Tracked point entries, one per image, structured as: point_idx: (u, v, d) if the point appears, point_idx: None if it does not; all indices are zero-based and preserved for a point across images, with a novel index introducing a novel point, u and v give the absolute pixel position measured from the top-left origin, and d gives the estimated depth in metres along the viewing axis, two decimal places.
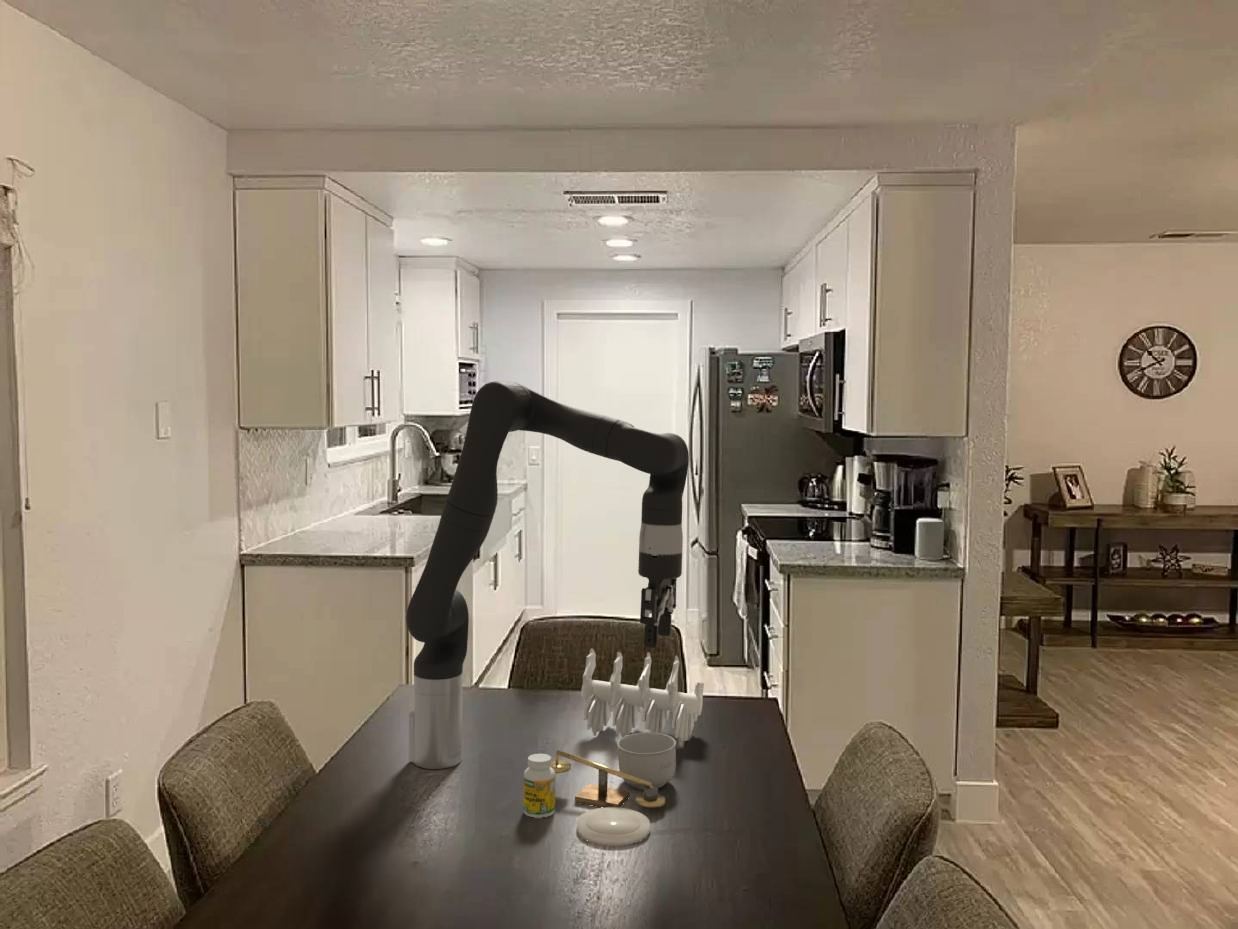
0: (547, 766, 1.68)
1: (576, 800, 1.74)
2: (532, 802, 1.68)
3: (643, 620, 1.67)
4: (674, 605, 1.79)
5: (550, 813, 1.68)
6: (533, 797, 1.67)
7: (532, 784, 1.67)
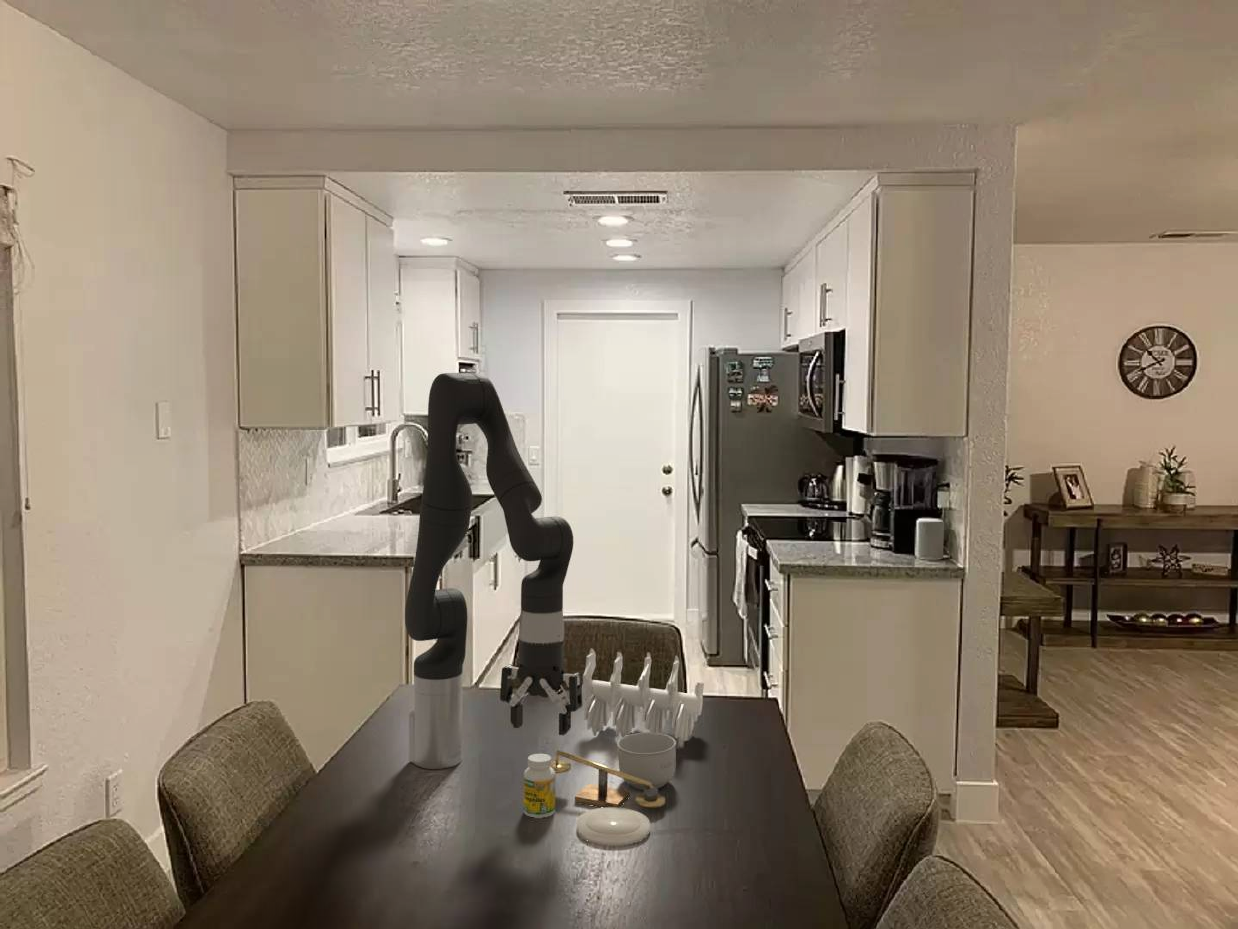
0: (547, 766, 1.68)
1: (576, 800, 1.74)
2: (532, 802, 1.68)
3: (577, 707, 1.65)
4: None
5: (550, 813, 1.68)
6: (533, 797, 1.67)
7: (532, 784, 1.67)
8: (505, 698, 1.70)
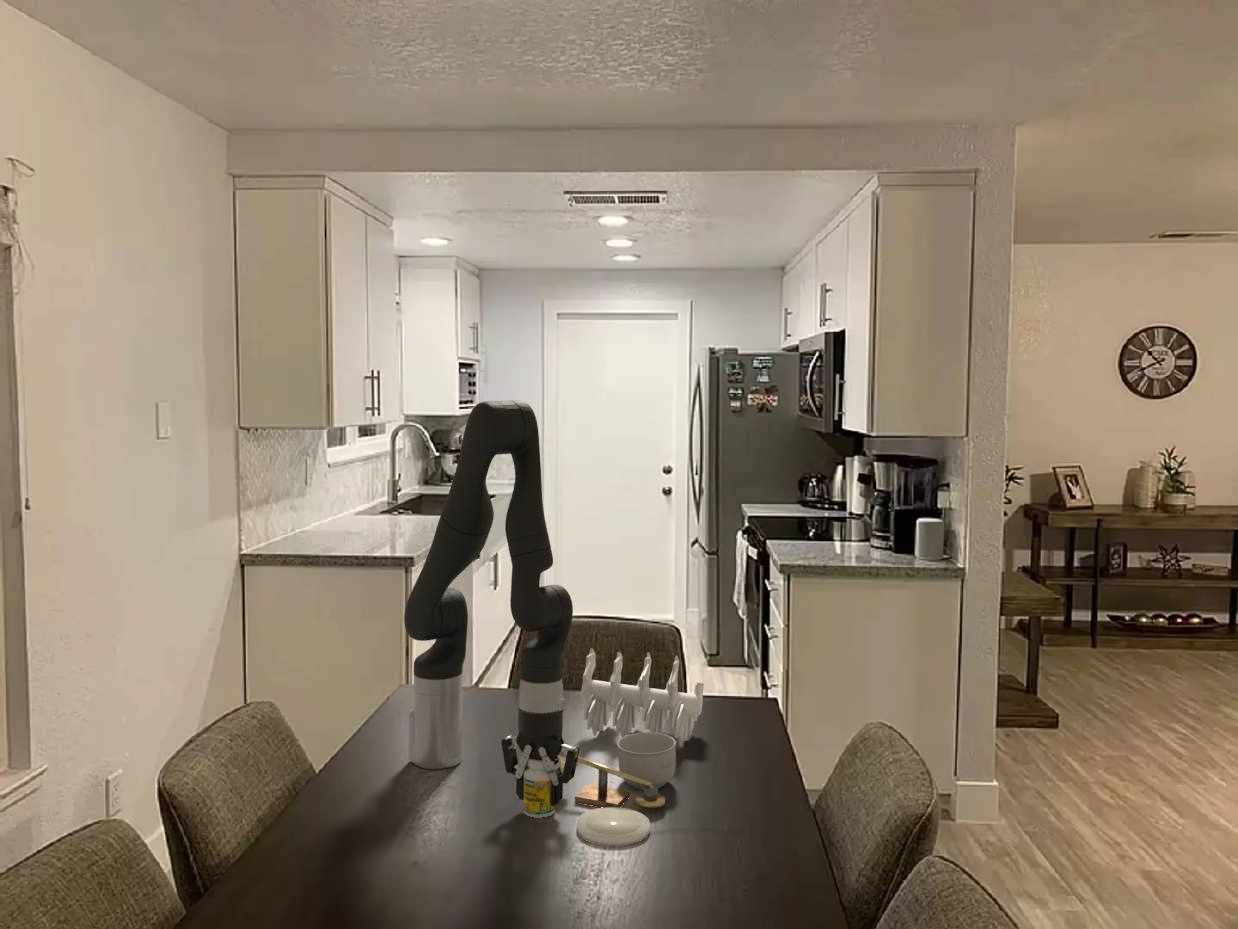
0: None
1: (576, 800, 1.74)
2: (532, 802, 1.68)
3: (569, 778, 1.67)
4: None
5: (550, 813, 1.68)
6: (533, 797, 1.67)
7: (532, 784, 1.67)
8: (511, 769, 1.70)
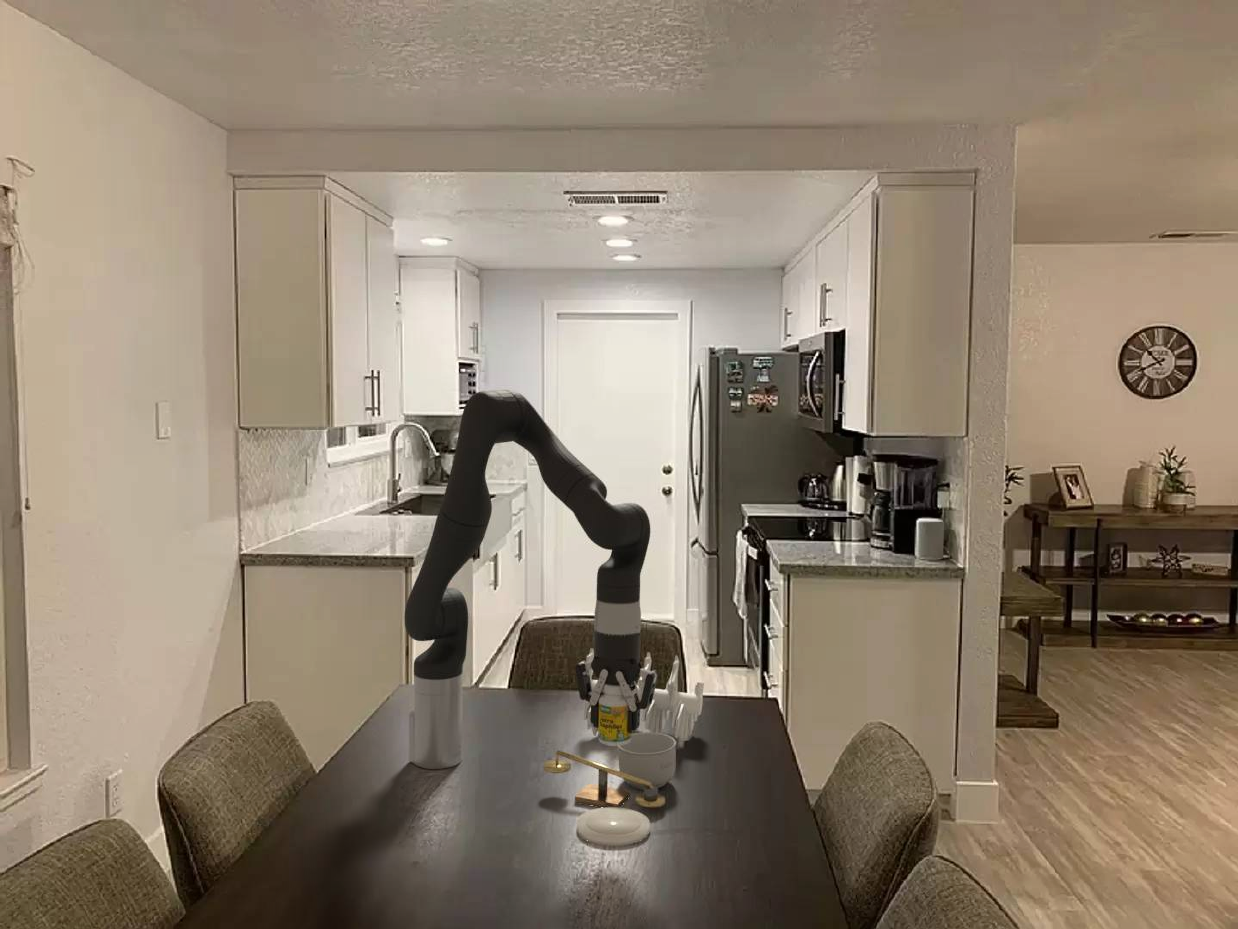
0: None
1: (576, 800, 1.74)
2: (608, 728, 1.60)
3: (647, 704, 1.60)
4: None
5: (627, 741, 1.61)
6: (610, 723, 1.60)
7: (609, 710, 1.60)
8: (585, 696, 1.63)
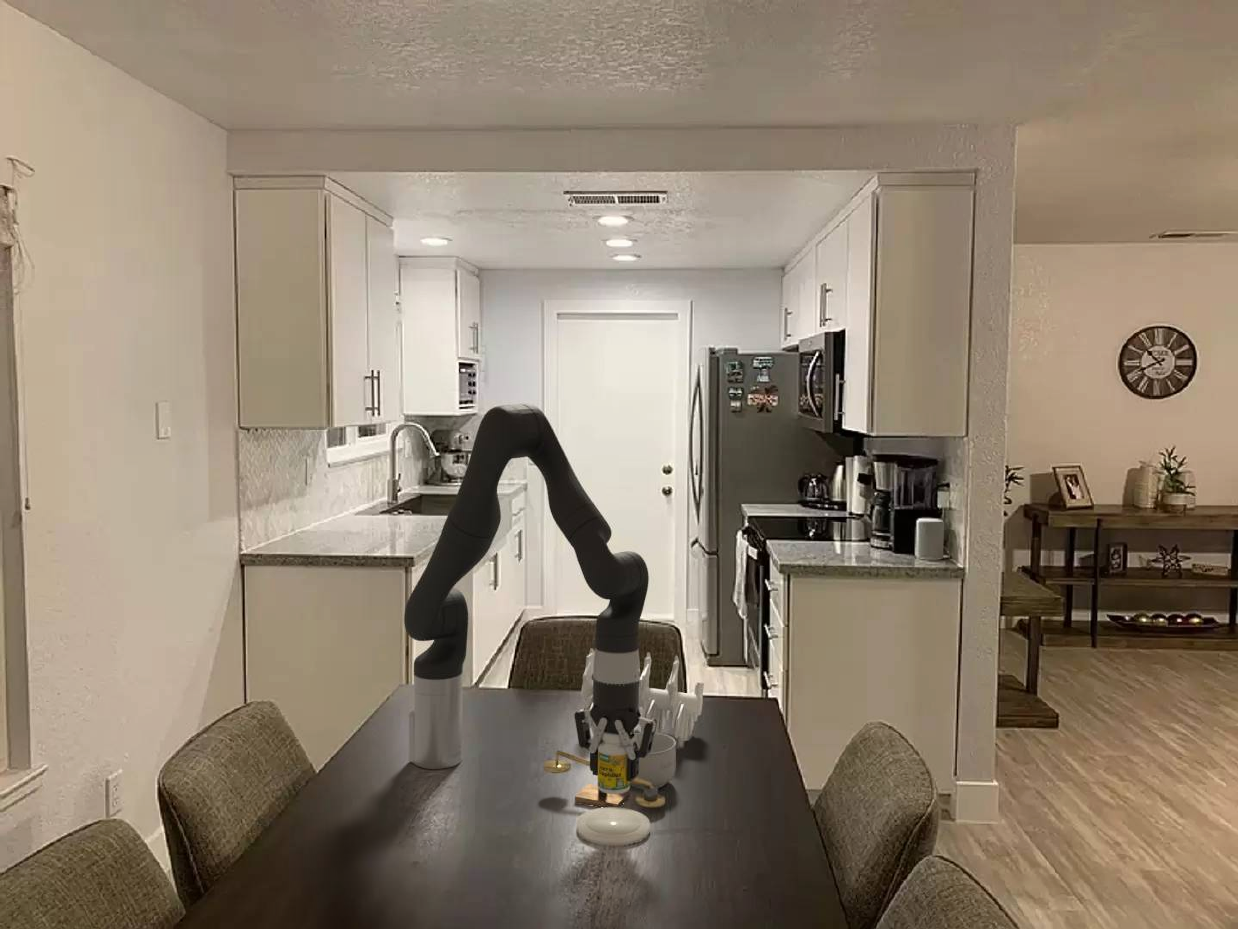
0: None
1: (576, 800, 1.74)
2: (607, 777, 1.61)
3: (646, 753, 1.60)
4: None
5: (626, 789, 1.62)
6: (609, 772, 1.61)
7: (608, 758, 1.61)
8: (584, 744, 1.64)
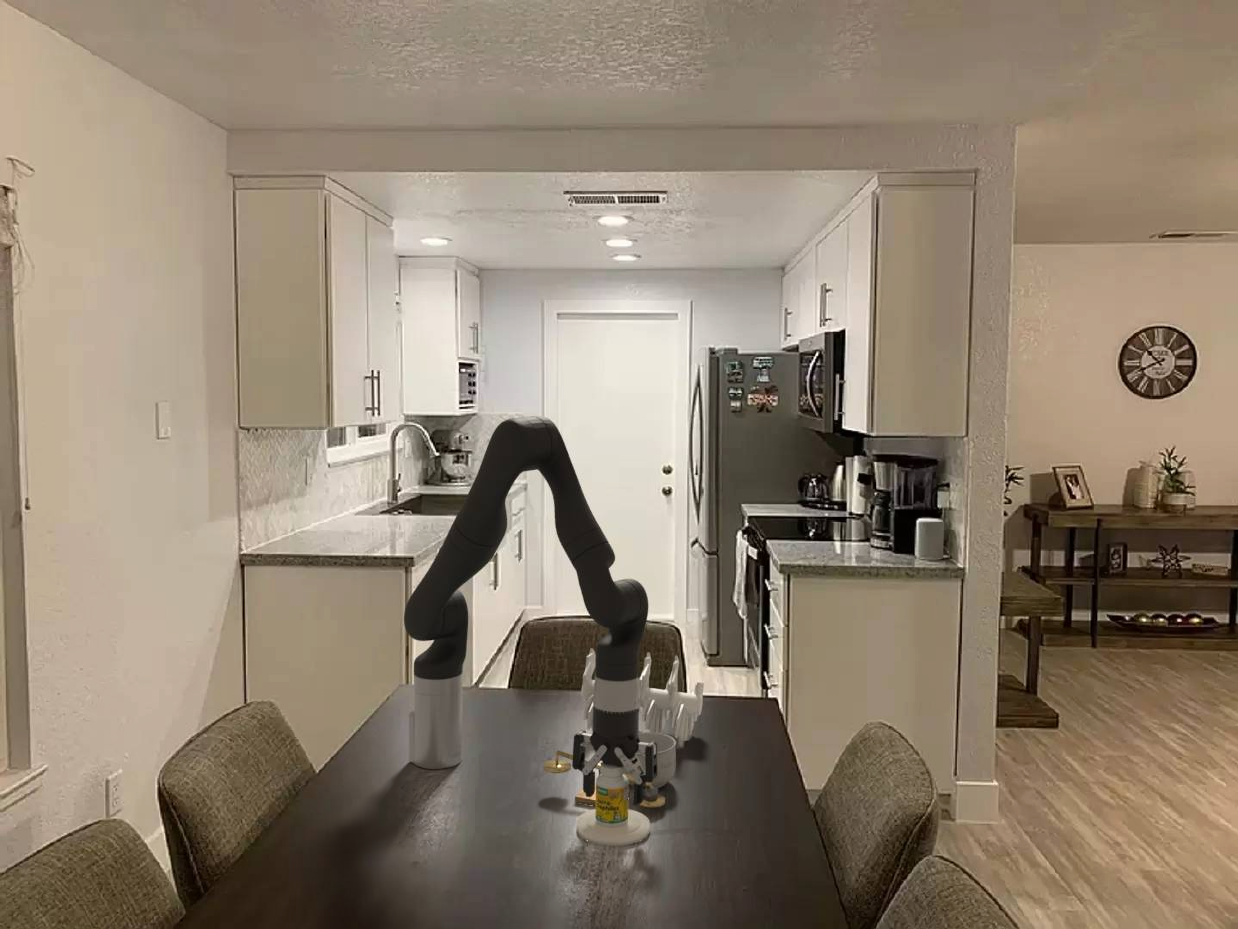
0: (621, 773, 1.62)
1: (576, 800, 1.74)
2: (605, 810, 1.62)
3: (653, 777, 1.60)
4: None
5: (624, 822, 1.62)
6: (607, 805, 1.61)
7: (606, 792, 1.61)
8: (578, 766, 1.65)
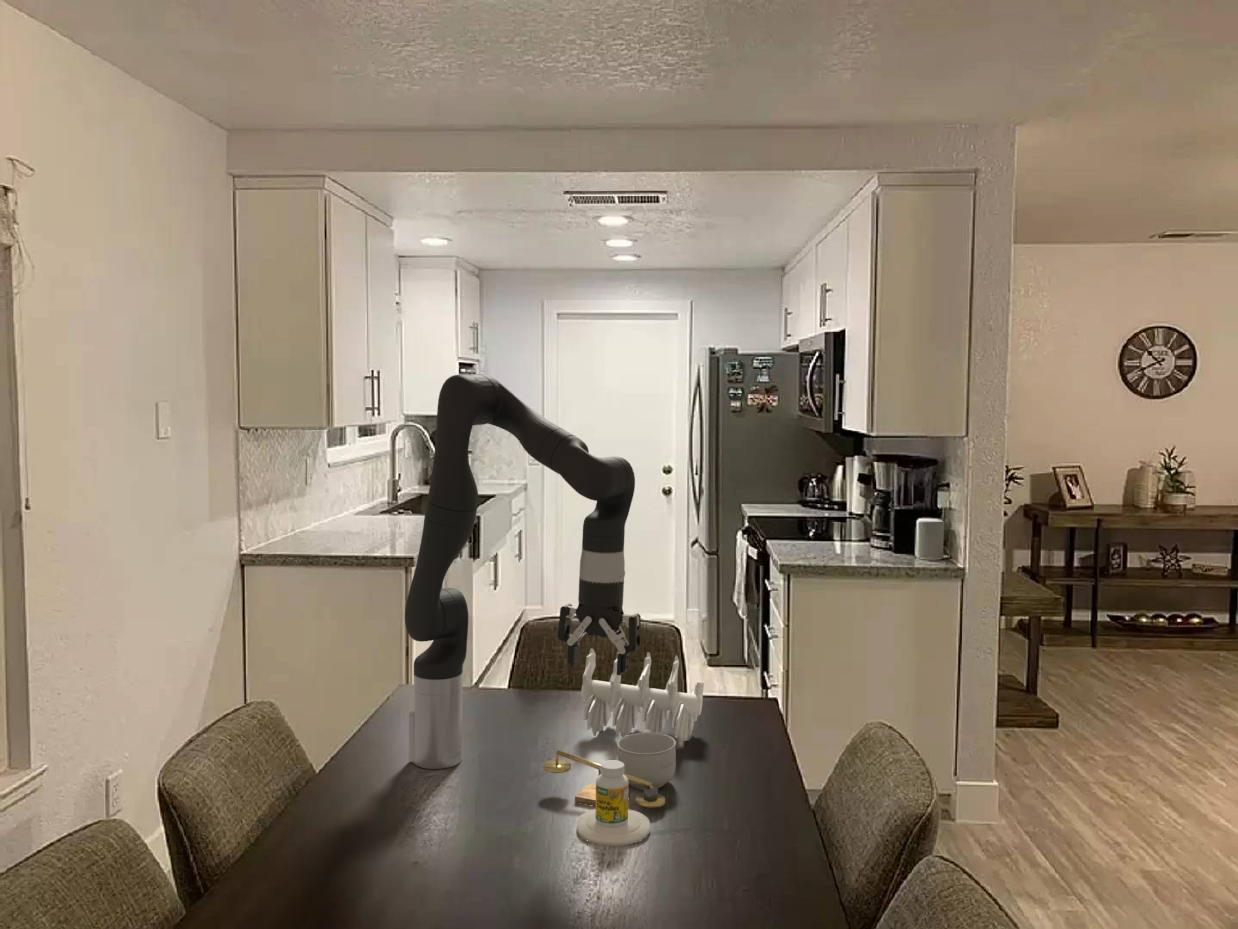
0: (621, 773, 1.62)
1: (576, 800, 1.74)
2: (605, 810, 1.62)
3: (636, 647, 1.65)
4: None
5: (624, 822, 1.62)
6: (607, 805, 1.61)
7: (606, 792, 1.61)
8: (563, 637, 1.70)
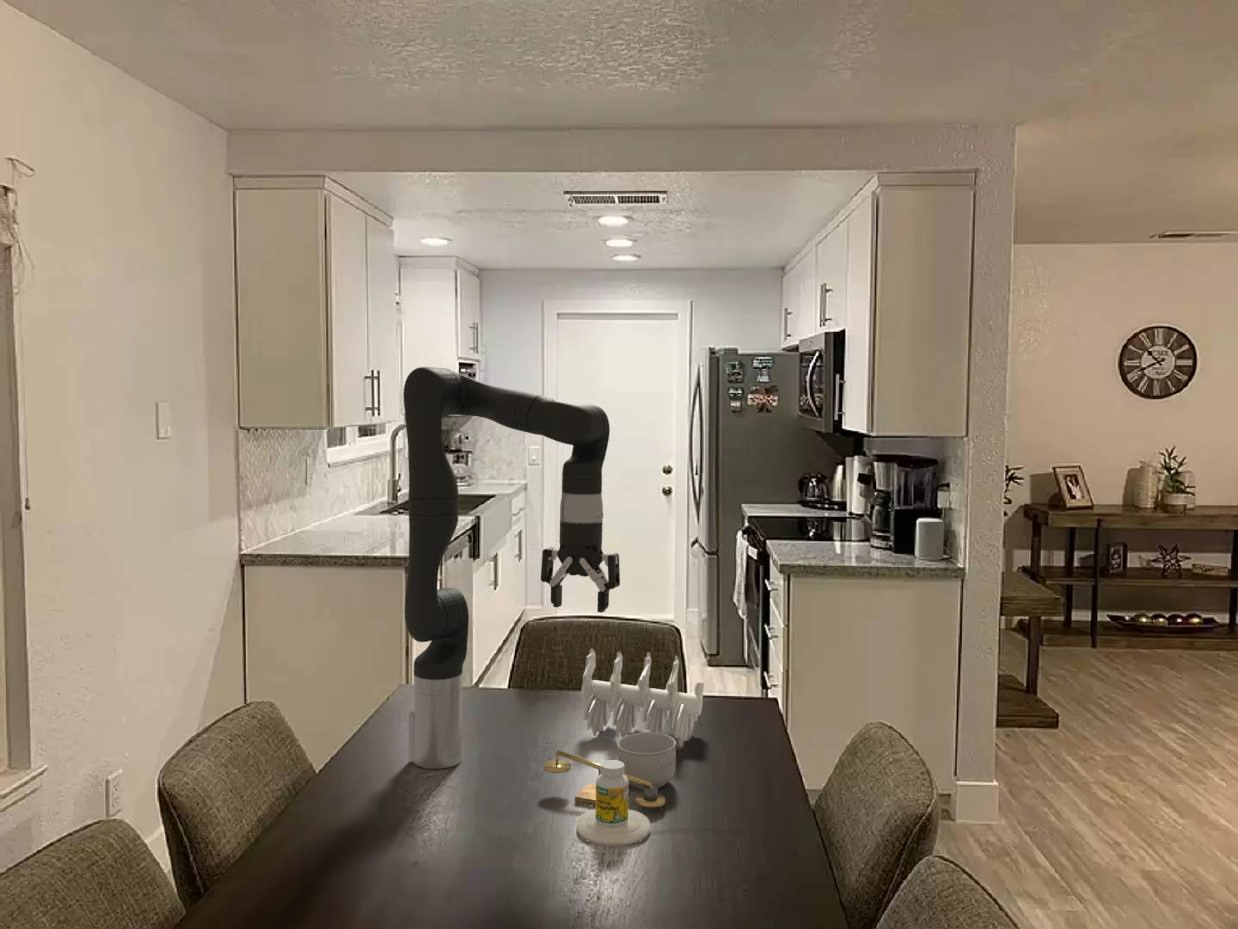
0: (621, 773, 1.62)
1: (576, 800, 1.74)
2: (605, 810, 1.62)
3: (615, 584, 1.74)
4: None
5: (624, 822, 1.62)
6: (607, 805, 1.61)
7: (606, 792, 1.61)
8: (546, 578, 1.78)
